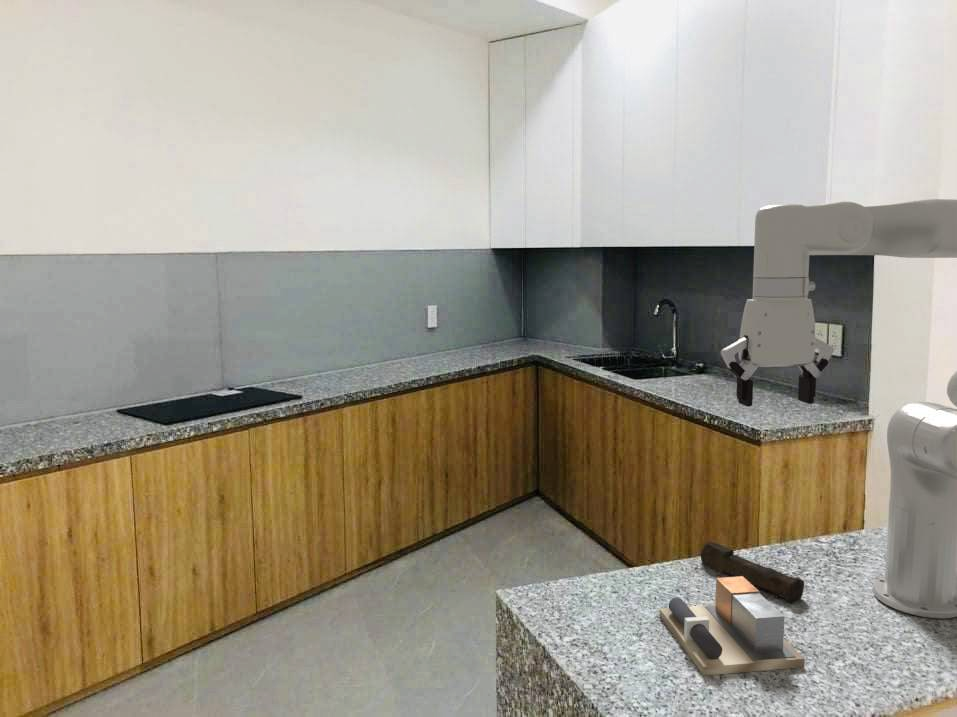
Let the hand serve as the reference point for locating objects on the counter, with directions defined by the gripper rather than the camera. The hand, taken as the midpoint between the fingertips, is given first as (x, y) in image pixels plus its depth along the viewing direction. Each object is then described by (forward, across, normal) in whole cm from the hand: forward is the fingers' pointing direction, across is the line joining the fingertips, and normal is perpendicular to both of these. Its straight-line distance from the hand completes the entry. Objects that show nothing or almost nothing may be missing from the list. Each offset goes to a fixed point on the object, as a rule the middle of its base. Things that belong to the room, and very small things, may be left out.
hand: (775, 403), depth 108 cm
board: (+32, +11, +9) cm, 35 cm away
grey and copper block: (+31, +8, +9) cm, 33 cm away
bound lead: (+32, +16, +9) cm, 37 cm away
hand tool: (+33, 0, -8) cm, 34 cm away
